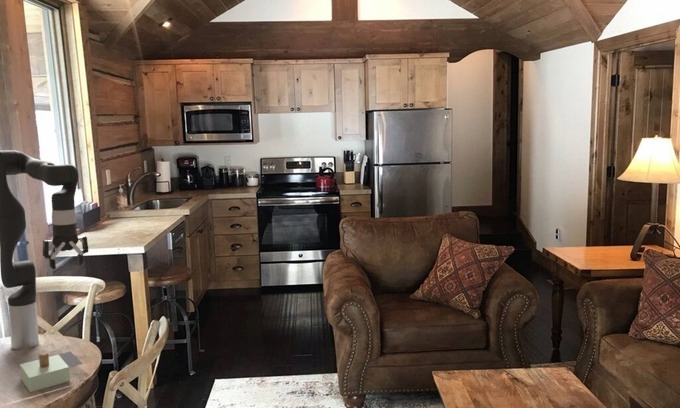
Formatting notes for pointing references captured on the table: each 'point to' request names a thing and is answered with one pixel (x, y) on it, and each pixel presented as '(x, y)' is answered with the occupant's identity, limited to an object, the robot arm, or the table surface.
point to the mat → (69, 359)
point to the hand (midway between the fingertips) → (66, 267)
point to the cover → (44, 372)
